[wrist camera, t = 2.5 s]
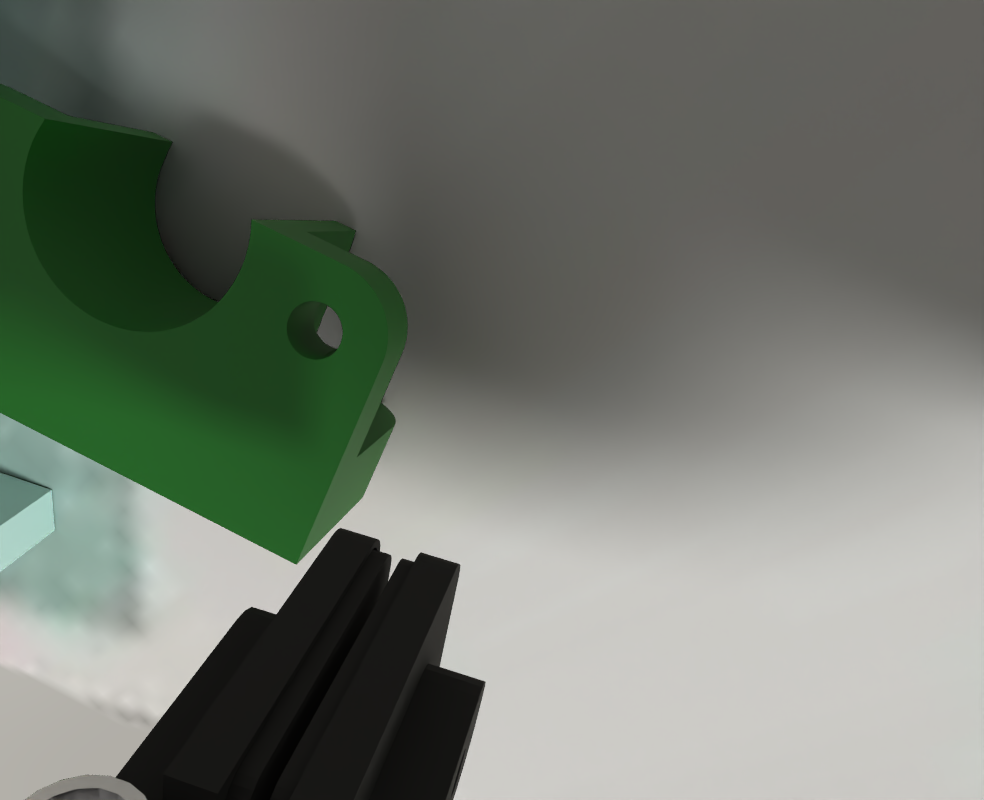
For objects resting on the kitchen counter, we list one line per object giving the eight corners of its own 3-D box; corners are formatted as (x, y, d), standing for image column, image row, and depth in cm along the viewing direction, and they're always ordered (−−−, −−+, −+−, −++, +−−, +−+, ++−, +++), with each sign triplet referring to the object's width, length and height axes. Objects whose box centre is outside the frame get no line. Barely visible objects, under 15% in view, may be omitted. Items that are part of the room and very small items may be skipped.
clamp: (431, 242, 24) (495, 330, 16) (355, 419, 25) (377, 586, 17) (-18, 51, 20) (-246, 36, 12) (-76, 275, 22) (-315, 401, 13)
